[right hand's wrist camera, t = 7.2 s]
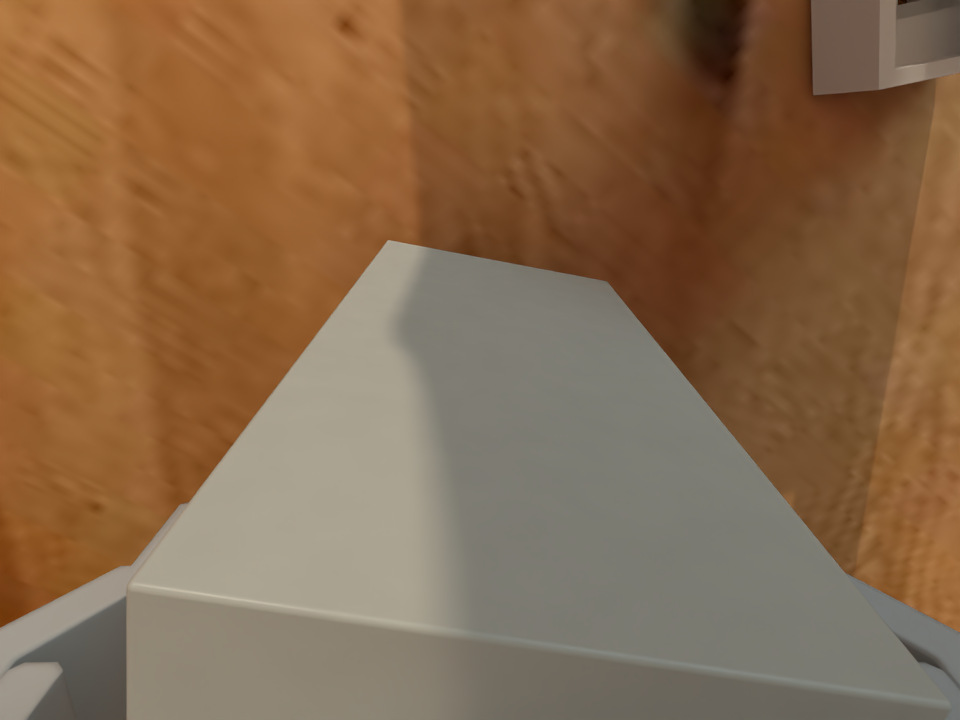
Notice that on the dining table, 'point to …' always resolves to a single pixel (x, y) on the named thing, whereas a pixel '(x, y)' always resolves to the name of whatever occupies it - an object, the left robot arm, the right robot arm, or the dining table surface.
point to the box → (498, 533)
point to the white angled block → (882, 43)
